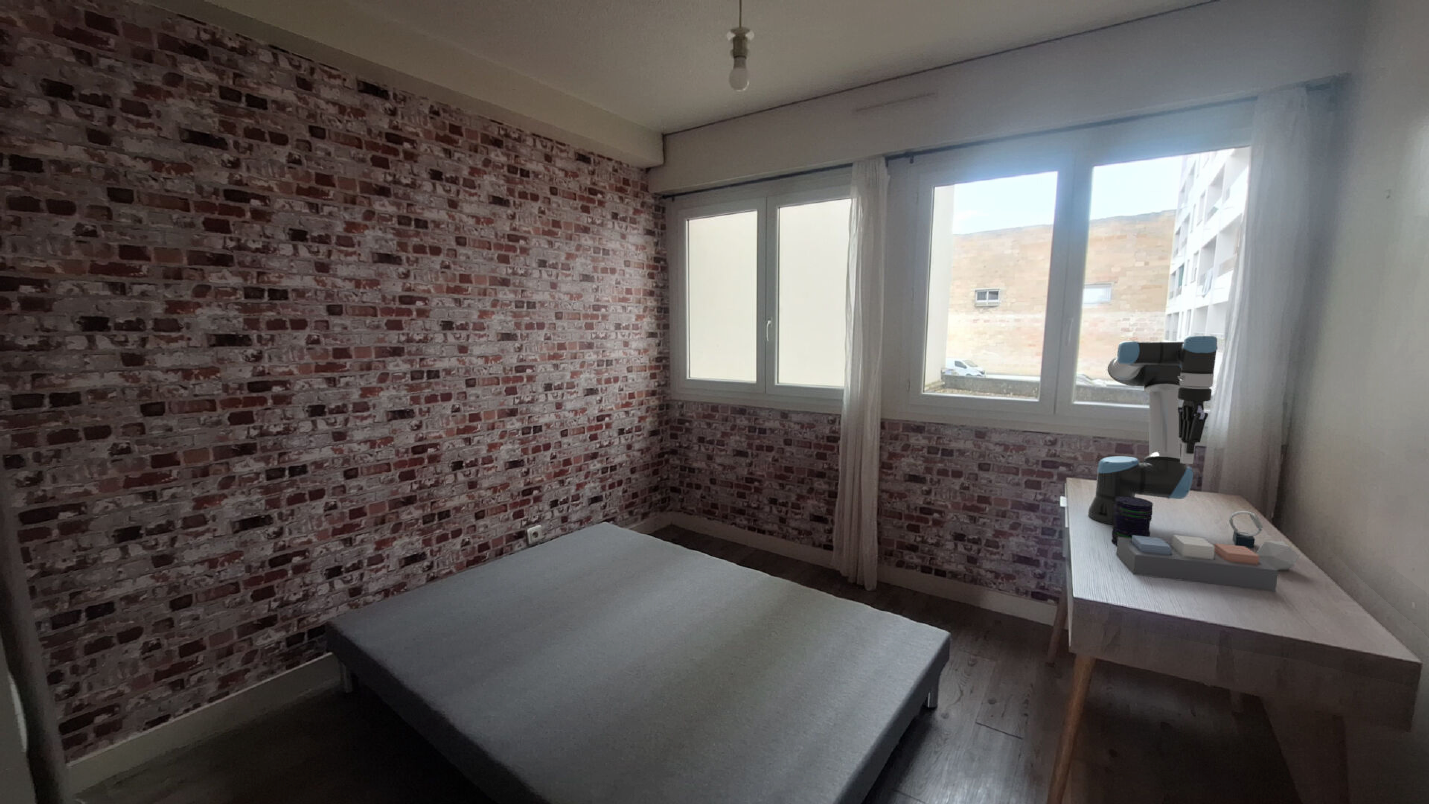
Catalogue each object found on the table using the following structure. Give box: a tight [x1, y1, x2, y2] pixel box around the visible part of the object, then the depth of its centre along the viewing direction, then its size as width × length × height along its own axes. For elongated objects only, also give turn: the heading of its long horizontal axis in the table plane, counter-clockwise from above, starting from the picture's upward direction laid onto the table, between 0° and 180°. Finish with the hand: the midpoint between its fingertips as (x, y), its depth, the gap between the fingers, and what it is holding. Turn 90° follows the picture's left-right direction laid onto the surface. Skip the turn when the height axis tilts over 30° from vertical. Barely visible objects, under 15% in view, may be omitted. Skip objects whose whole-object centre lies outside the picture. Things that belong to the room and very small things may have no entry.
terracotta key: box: [1213, 543, 1260, 564], centre depth 154 cm, size 7×7×5 cm
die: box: [1255, 540, 1301, 571], centre depth 159 cm, size 8×9×10 cm
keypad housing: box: [1115, 537, 1279, 592], centre depth 157 cm, size 14×32×6 cm, turn 70°
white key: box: [1171, 534, 1215, 559], centre depth 157 cm, size 7×7×5 cm
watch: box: [1228, 510, 1264, 549], centre depth 176 cm, size 6×8×11 cm
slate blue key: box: [1132, 535, 1171, 555], centre depth 160 cm, size 7×7×5 cm
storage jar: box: [1111, 496, 1154, 546], centre depth 176 cm, size 10×10×15 cm
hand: (1186, 463), depth 166 cm, fingers closed
